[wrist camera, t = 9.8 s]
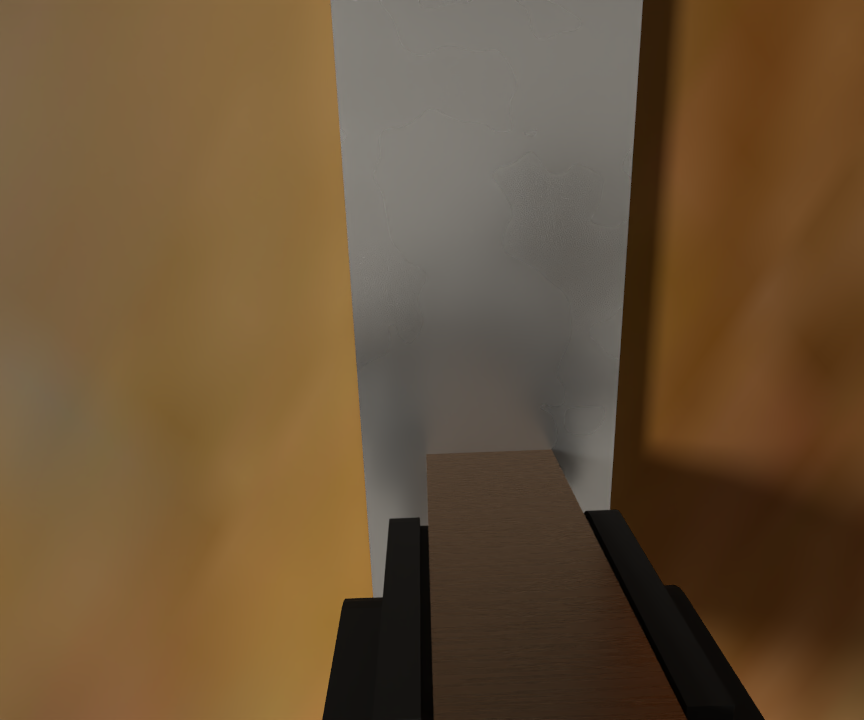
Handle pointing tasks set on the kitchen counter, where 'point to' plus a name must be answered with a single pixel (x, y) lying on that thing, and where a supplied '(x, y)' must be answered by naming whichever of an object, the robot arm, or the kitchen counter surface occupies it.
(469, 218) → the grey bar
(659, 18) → the kitchen counter surface
